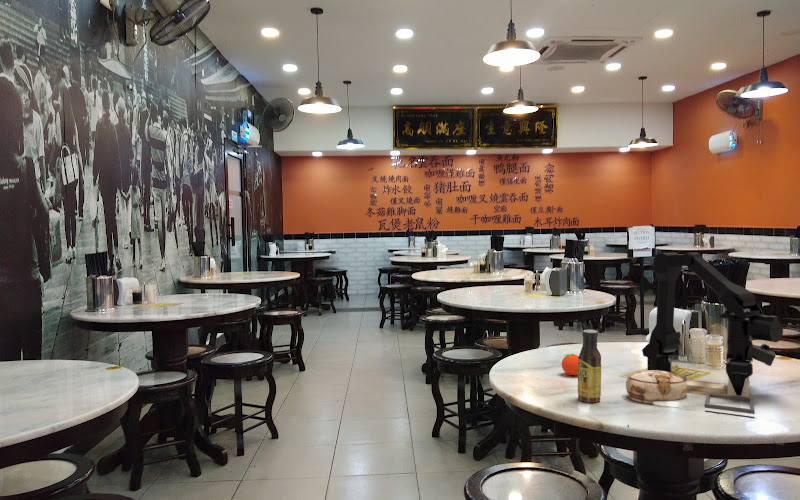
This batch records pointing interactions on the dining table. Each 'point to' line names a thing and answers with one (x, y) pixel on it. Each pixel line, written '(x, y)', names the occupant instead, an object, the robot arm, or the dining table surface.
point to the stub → (744, 392)
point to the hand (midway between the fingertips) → (738, 390)
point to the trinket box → (655, 386)
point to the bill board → (706, 387)
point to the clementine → (570, 364)
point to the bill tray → (729, 406)
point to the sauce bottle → (589, 368)
